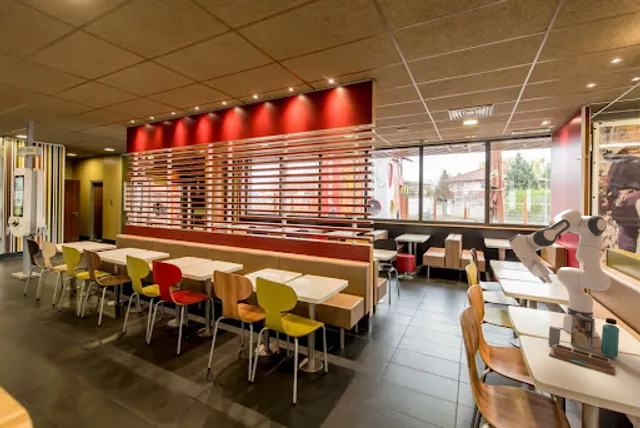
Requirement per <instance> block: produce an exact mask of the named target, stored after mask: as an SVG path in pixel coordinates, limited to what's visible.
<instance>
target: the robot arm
mask: <svg viewBox="0 0 640 428" xmlns="http://www.w3.org/2000/svg"><path fill="white" fill-rule="evenodd" d="M548 226H549V227H545V228H544V227H543V228H540V229H538V230H536V231H535V232H533V233H530V234H526V235H525V234H520V233H518V234H515V235H514V236H512V237H511V238H510V239H509V241H508V244H509V246H510V247H511V249H512V251H513V252H514V253H515V254H516V256H517V257H519V260H520V261H521V263H522V265H523V266H524V268H526V269H527V270H528V271H529V272H530V273H531V274H532V276H534V277H537V278H539V279H538V280H539V281H541V282H542V283H543V284H547V283H548V284H552V283H553V280H552V279H551V277H550V275H551V272H550V270H549V269H548V268H547V266H545V264H544V263H543V262H541V261H542V259H541V258H540V256H539V255H538V254H537V251H540V250H542V249H544V248H546V247H550V246H553V245H554V244H555V242H556V241H557V239H558V237H559V236H561V235H564V234H566V233H568V234H577V235H579V234H580V237H579V241H578V243H577V248H576V253H575V256H574V257H575V259H576V261H578V262H579V263H580V264H582V265H583V266H584V269H583V268H576V267H570V266H569V267H568V266H565V267H563V266H562V267H560V268H559V269H558V270H557V272H556V277H557V280H558V281H559V282H560V283H561V284H562V285H563V286H564V288H565V289H566V291H567V294H568V306H567V310H566V311H567V312H566V313H567V314H565V315H563V322H562V324H560V325H559V326H558V328H561V329H562V330H564V331H566V332H567V333H569V334H571V328H572V317H573V315H574V314H575V315H580V316H584V317H588V318H592V319H594V312H593V305H594V303H593V302H594V300H593V298H592V297H591V296H590V295H589V294H588V293H586V292H585V291H584V290H583V289H588V290H592V291H607V290H608V289H609V288H610V287H611V284H612V281H611V278H610V277H609V275H608V274H607V273H605V272H604V270H603V269H602V267H601V264H600V260H601V251H602V245H603V237H602V235H603V233H604V232H605V230H606V229H607V222H606V220H605V219H604V217H602V216H599V215H582V213H581V212H579V211H578V210H576V209H574V208H573V209H567V210H564V211H562V212H560V213H558V214H557V215H555V216H554V217H553V218H552V219H551V220H550V221H549V223H548ZM596 329H597V328H596V322H594V338H600V335H599V332H597V330H596Z"/></svg>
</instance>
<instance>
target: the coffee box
mask: <svg viewBox="0 0 640 428" xmlns="http://www.w3.org/2000/svg"><path fill="white" fill-rule="evenodd" d="M595 321H596V320H595V318H588V317H584V316H580V315H575V314H574V315H573V317H572V328H571V333H570V345H571V346H573V345H574V346H573V347H578V348H580V347H581V349H584V350H587V351H593V349H594V338H595V337H594V322H595ZM595 323H596V322H595Z"/></svg>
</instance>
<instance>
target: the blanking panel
mask: <svg viewBox="0 0 640 428" xmlns="http://www.w3.org/2000/svg"><path fill="white" fill-rule="evenodd" d="M548 329H549V333H548V344H551V345H554V346H555V344H559V345H561V344H560V341H561V328H559V326H555V325H550V326H549V328H548ZM551 345H550V346H551ZM554 346H553V347H554Z"/></svg>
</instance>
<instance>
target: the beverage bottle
mask: <svg viewBox="0 0 640 428" xmlns="http://www.w3.org/2000/svg"><path fill="white" fill-rule="evenodd" d="M601 332H602V333H601V334H602V335H601V346H600V353H601V354H602V355H603V356H605V357H610V358H618V355H619V354H618V353H619V341H620V339H619V337H620V328H619V327H617V319H615V318H612V317H611V318H610V317H608V318H605V324H603V325H602V330H601Z"/></svg>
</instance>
